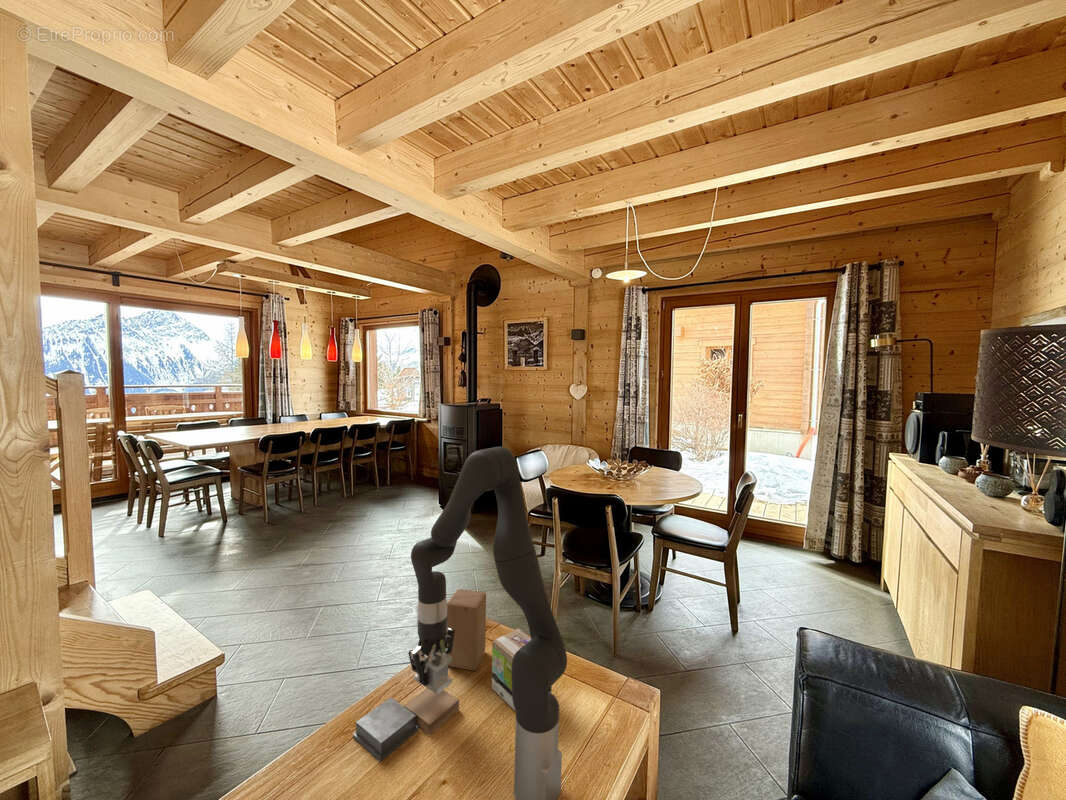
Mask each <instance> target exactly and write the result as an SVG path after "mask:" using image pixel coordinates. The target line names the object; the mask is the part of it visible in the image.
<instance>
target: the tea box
mask: <svg viewBox="0 0 1066 800" xmlns="http://www.w3.org/2000/svg"><path fill="white" fill-rule="evenodd" d="M530 640H531V635H528V634H527V633H526V632H524V631H523V630H522V629H521V628H519V627H517V628H515V629H513V630H511V631H510V632H508V633H506V634H504V635H501V636H499V637H498V638H496V639H494V640H492V643H491V644H492V646H491V648H492V649H491V652H492V653H491V654H492V655H491V689H492V690H494V691H495V692H496V694H497V695H498V696H500V698H502V700H503V701H504V702H505V703H507V704H508V706H509V707H510V708H511V709H513V711H515V708H514V704H513V699H512V661H513V657H514V655H515V653H516V652H517V651H518V650H519V649H520V648H522V647H523V646H524V645H525V644H526V643H528V642H529V641H530ZM552 686H553V685H552ZM552 686H551V687H550V688H549V692H550V693H551V694H552Z"/></svg>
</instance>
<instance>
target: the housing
mask: <svg viewBox="0 0 1066 800" xmlns="http://www.w3.org/2000/svg"><path fill="white" fill-rule="evenodd" d="M425 656H426V655H425ZM426 657H428V656H426ZM450 662H452V656H450V655H448V654H446V653H441V652H437V653H435V654H434V655H433V657H432V661H431V662H430V663H428V685H427V686H424V685H423V684H421V683H420V682H419V674H418V673H416V672H415V674H413V681H416V682H417V683H418V684H420V685H422V686H423V687H425V689H426V688H428V689H430V690H431V691H433V692H434V693H436V694H438V693H440V692H441V691H442V690H445V689H446V688H447V687H449V686H450V685H451V684H453V677H450V676H449V666H448V664H449V663H450ZM424 664H425V662H424V661H423V666H424Z"/></svg>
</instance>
